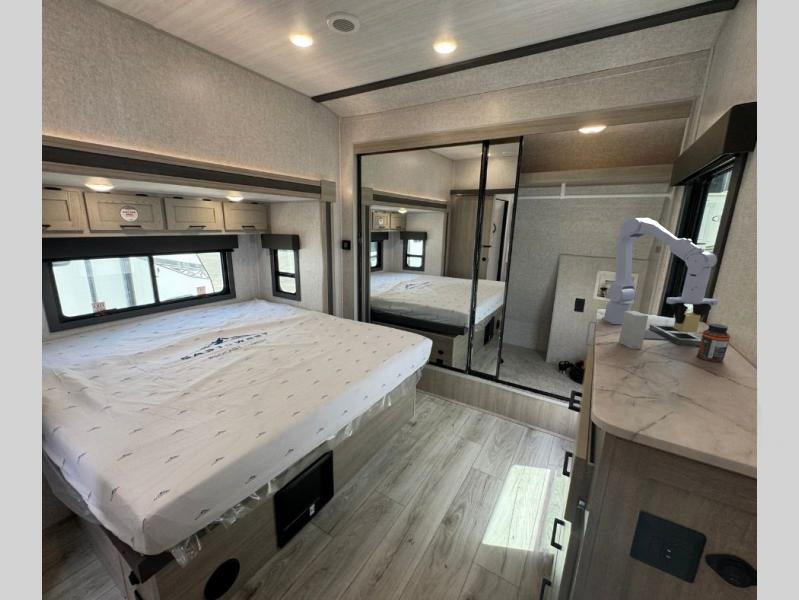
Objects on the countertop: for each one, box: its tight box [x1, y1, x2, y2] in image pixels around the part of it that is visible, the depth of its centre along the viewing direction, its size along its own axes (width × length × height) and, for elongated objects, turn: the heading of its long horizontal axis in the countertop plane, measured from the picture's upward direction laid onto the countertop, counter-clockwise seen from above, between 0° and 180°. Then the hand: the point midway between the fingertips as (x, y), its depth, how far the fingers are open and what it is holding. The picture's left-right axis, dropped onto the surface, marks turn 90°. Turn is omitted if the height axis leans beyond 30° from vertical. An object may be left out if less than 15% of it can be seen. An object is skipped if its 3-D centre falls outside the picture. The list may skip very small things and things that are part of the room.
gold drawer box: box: [673, 310, 701, 334], centre depth 110 cm, size 4×4×7 cm
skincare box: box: [618, 310, 649, 350], centre depth 106 cm, size 6×4×12 cm
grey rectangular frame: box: [648, 324, 702, 347], centre depth 115 cm, size 17×8×2 cm, turn 170°
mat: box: [644, 330, 668, 341], centre depth 117 cm, size 9×9×1 cm
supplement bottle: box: [697, 323, 731, 363], centre depth 96 cm, size 6×6×11 cm
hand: (686, 323), depth 110 cm, fingers closed on gold drawer box, 4 cm apart
